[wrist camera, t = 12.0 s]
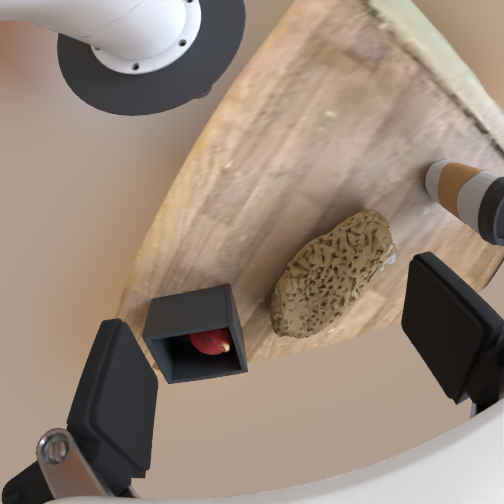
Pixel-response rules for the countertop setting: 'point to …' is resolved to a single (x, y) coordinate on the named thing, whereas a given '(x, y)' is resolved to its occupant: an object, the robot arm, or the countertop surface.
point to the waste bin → (192, 321)
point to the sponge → (331, 274)
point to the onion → (212, 340)
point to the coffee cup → (469, 197)
